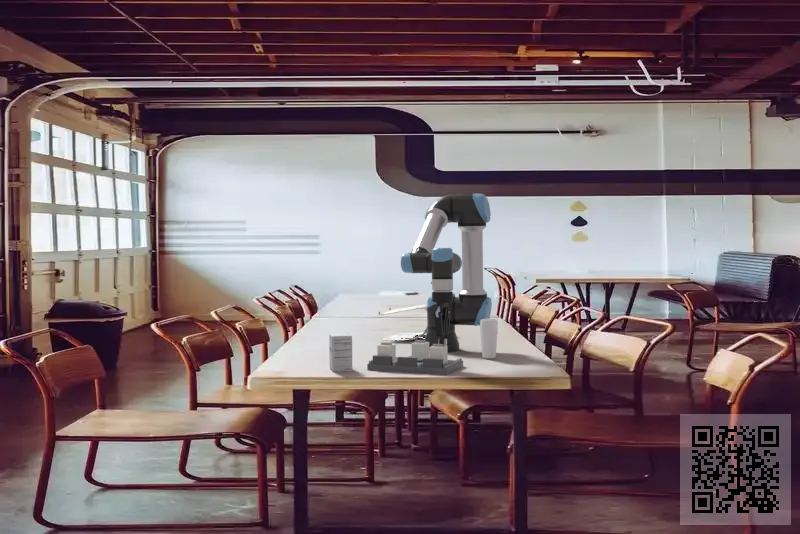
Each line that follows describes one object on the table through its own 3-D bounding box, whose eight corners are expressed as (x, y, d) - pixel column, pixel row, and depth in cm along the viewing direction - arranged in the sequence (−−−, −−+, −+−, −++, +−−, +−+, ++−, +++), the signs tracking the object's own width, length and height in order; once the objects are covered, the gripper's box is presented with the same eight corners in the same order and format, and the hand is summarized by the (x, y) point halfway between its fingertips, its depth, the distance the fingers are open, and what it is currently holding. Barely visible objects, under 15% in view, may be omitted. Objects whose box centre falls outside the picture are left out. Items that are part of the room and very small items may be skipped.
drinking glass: (490, 360, 286) (490, 320, 285) (476, 358, 291) (476, 319, 290) (501, 358, 291) (501, 319, 290) (487, 356, 295) (487, 318, 295)
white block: (383, 360, 273) (382, 341, 272) (395, 360, 271) (395, 342, 271) (377, 362, 268) (377, 343, 268) (390, 362, 266) (390, 343, 266)
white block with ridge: (416, 357, 278) (416, 339, 277) (429, 358, 276) (429, 339, 276) (411, 359, 273) (411, 341, 273) (424, 360, 271) (424, 341, 271)
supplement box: (329, 368, 271) (328, 333, 270) (349, 367, 272) (349, 332, 272) (332, 372, 263) (331, 336, 263) (352, 371, 265) (352, 335, 265)
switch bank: (387, 361, 284) (386, 348, 284) (463, 366, 273) (463, 352, 272) (367, 369, 267) (367, 355, 267) (447, 374, 256) (447, 360, 256)
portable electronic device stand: (428, 342, 339) (428, 307, 339) (377, 340, 344) (377, 307, 344) (438, 335, 364) (438, 303, 363) (391, 334, 369) (390, 302, 369)
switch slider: (434, 361, 267) (434, 342, 267) (447, 362, 266) (447, 343, 265) (429, 364, 263) (429, 344, 263) (443, 364, 261) (442, 345, 261)
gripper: (438, 289, 275) (438, 353, 276) (426, 291, 263) (426, 359, 264) (458, 290, 272) (458, 354, 273) (446, 292, 260) (447, 360, 261)
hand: (442, 356), depth 268 cm, fingers closed
